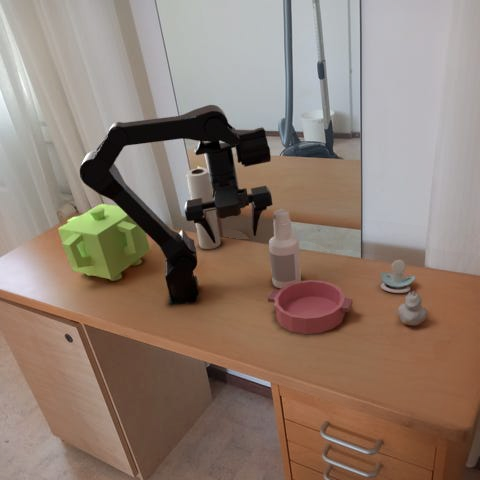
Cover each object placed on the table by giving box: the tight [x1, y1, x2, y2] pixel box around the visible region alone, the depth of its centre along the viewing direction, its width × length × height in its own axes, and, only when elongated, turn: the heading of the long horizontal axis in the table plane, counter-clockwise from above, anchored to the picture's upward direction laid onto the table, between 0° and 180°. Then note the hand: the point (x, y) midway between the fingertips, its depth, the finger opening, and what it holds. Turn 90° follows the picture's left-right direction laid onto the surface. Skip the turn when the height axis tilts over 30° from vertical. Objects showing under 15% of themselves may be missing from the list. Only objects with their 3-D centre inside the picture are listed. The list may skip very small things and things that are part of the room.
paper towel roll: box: [185, 165, 221, 250], centre depth 134 cm, size 7×6×21 cm
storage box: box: [57, 203, 151, 282], centre depth 131 cm, size 25×23×17 cm
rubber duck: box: [397, 290, 428, 327], centre depth 97 cm, size 5×7×8 cm
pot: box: [267, 279, 354, 335], centre depth 105 cm, size 18×15×4 cm
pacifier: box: [380, 259, 416, 294], centre depth 108 cm, size 7×6×6 cm
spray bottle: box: [268, 208, 302, 290], centre depth 113 cm, size 7×7×18 cm
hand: (234, 239), depth 111 cm, fingers open, 9 cm apart
